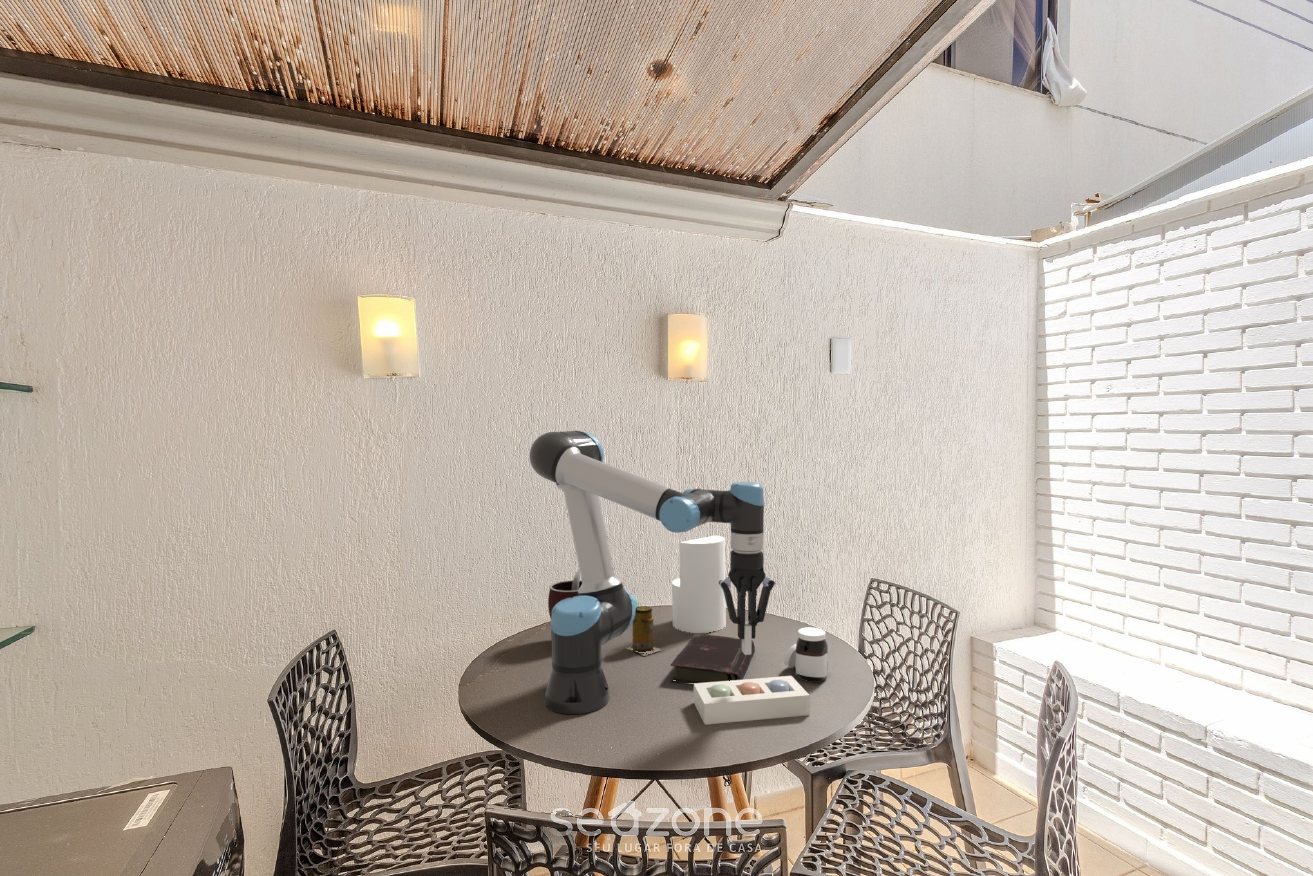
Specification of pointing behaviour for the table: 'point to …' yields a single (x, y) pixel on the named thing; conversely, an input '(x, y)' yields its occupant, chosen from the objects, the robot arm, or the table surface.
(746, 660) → the diary
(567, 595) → the mate gourd
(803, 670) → the spread jar
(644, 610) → the condiment
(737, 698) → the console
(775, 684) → the slate button
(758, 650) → the table surface
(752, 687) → the terracotta button
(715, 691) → the sage button
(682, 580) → the cylinder
